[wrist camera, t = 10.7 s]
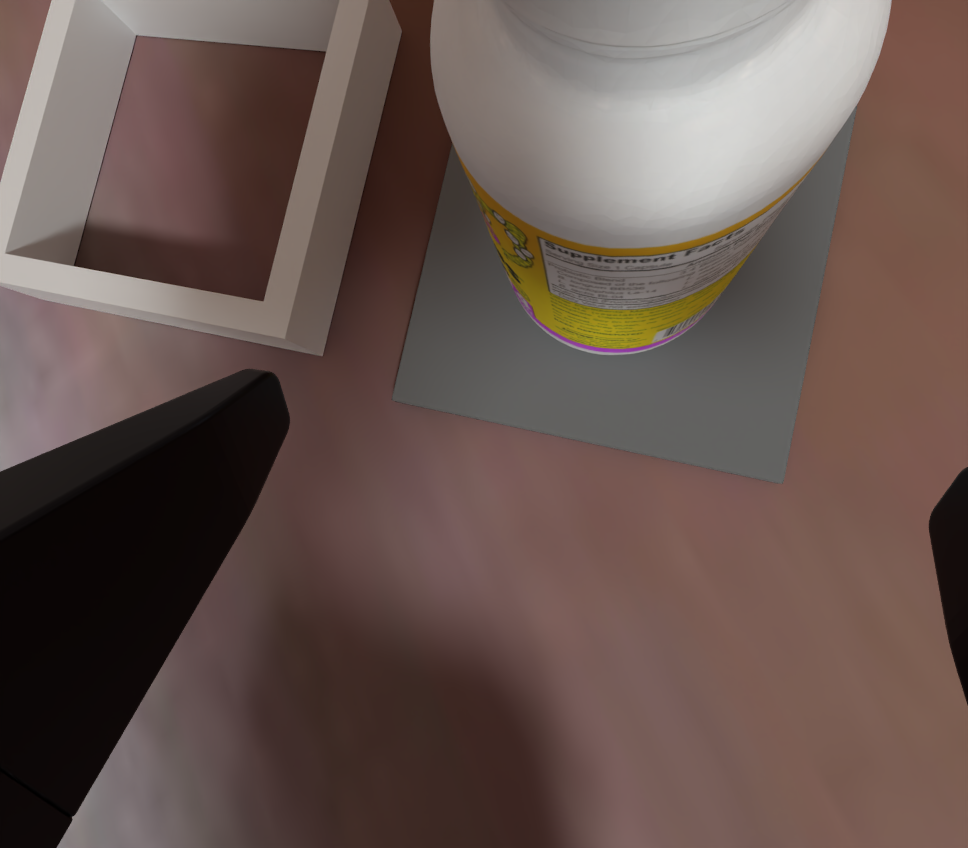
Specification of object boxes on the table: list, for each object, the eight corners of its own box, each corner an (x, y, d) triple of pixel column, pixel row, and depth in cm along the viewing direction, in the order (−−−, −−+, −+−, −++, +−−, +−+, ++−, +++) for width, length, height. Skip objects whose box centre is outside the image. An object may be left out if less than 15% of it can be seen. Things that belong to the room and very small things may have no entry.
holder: (322, 356, 20) (284, 338, 17) (42, 299, 22) (-27, 276, 19) (401, 31, 20) (376, -31, 18) (121, 9, 23) (64, -48, 20)
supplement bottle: (520, 153, 18) (375, -544, 6) (736, 154, 17) (1136, -729, 5) (497, 354, 18) (286, 60, 5) (719, 371, 17) (1117, 38, 4)
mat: (777, 483, 17) (783, 483, 16) (396, 401, 19) (391, 399, 18) (853, 97, 17) (861, 85, 17) (476, 64, 20) (473, 53, 19)
